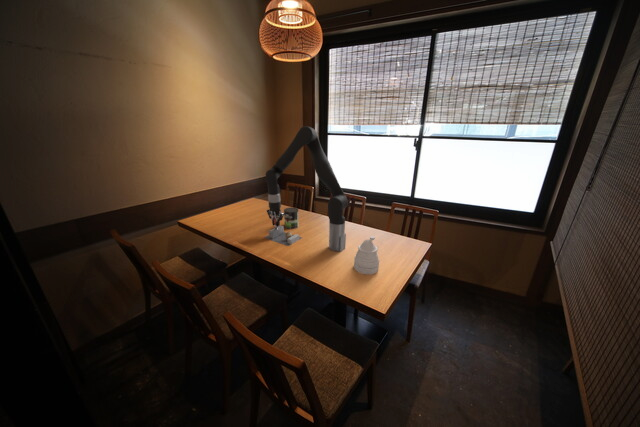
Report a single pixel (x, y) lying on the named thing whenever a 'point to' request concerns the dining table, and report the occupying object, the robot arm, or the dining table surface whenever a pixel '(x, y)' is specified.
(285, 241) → the nutcracker bench
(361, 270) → the honey pot
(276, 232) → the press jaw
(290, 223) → the coffee can
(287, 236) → the tan ball
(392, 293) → the dining table surface
